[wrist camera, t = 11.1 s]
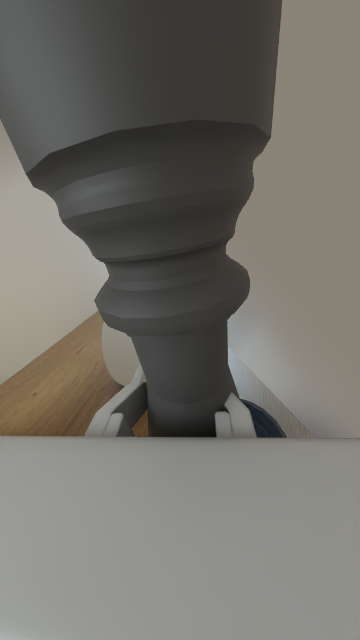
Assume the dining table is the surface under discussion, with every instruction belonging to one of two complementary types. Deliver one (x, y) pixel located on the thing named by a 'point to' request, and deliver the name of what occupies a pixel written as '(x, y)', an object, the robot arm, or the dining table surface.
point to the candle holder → (149, 166)
